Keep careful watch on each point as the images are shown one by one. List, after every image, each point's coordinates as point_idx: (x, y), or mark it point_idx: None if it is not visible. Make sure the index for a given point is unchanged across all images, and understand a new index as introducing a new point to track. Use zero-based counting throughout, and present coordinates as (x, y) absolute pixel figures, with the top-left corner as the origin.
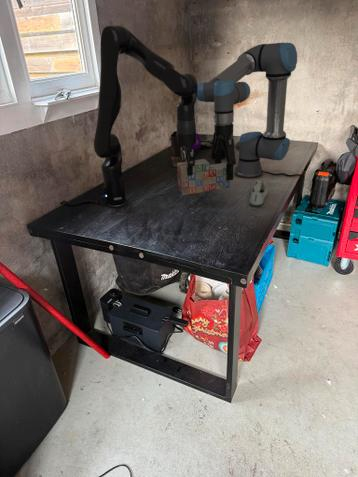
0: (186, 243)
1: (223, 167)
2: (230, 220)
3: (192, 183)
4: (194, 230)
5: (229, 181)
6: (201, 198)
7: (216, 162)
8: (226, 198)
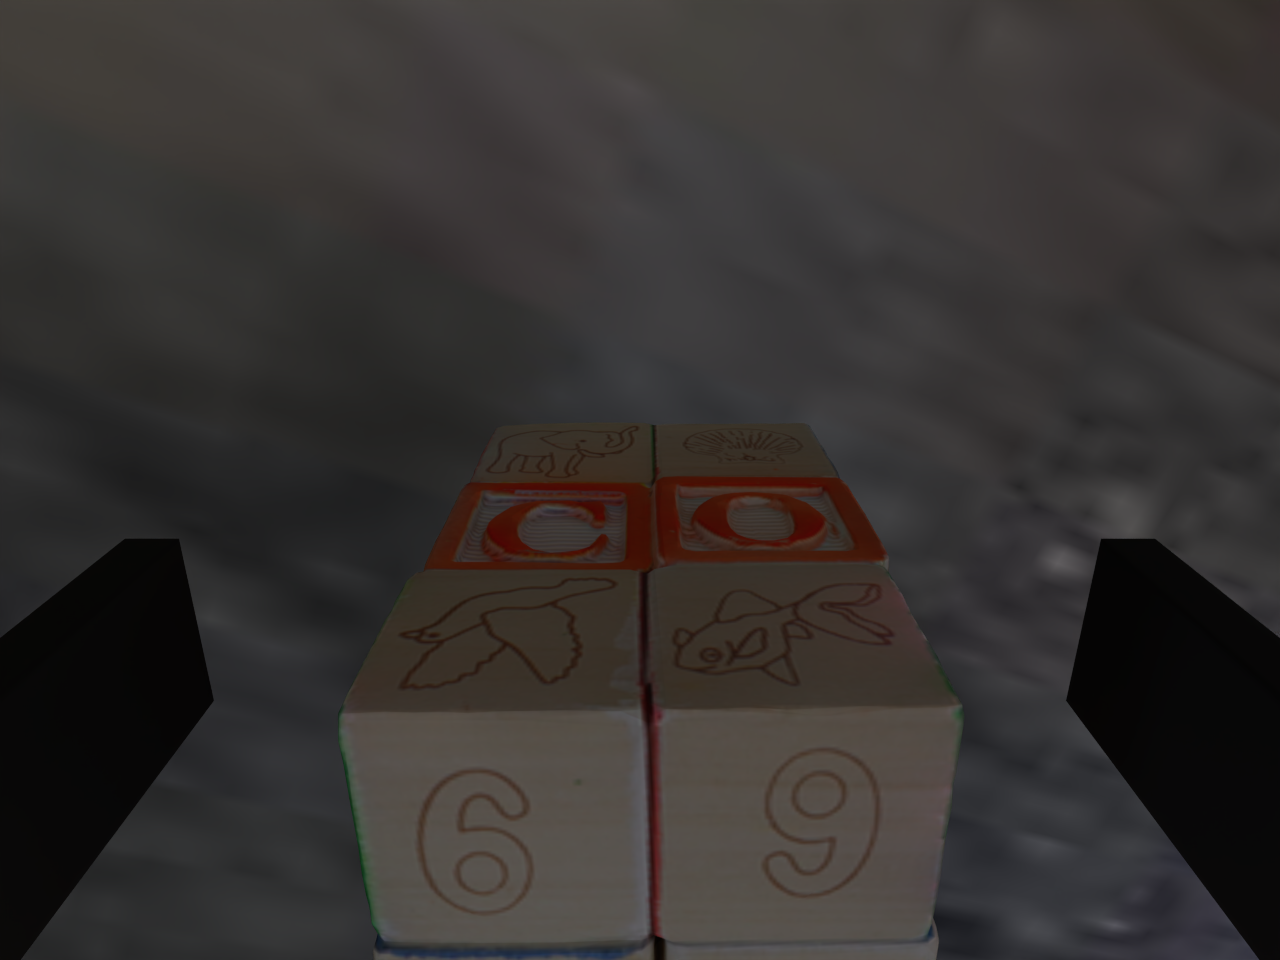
0: (1179, 917)
1: (873, 916)
2: (959, 379)
3: None
4: (985, 800)
5: (837, 480)
6: (163, 495)
7: (59, 860)
8: (238, 145)
